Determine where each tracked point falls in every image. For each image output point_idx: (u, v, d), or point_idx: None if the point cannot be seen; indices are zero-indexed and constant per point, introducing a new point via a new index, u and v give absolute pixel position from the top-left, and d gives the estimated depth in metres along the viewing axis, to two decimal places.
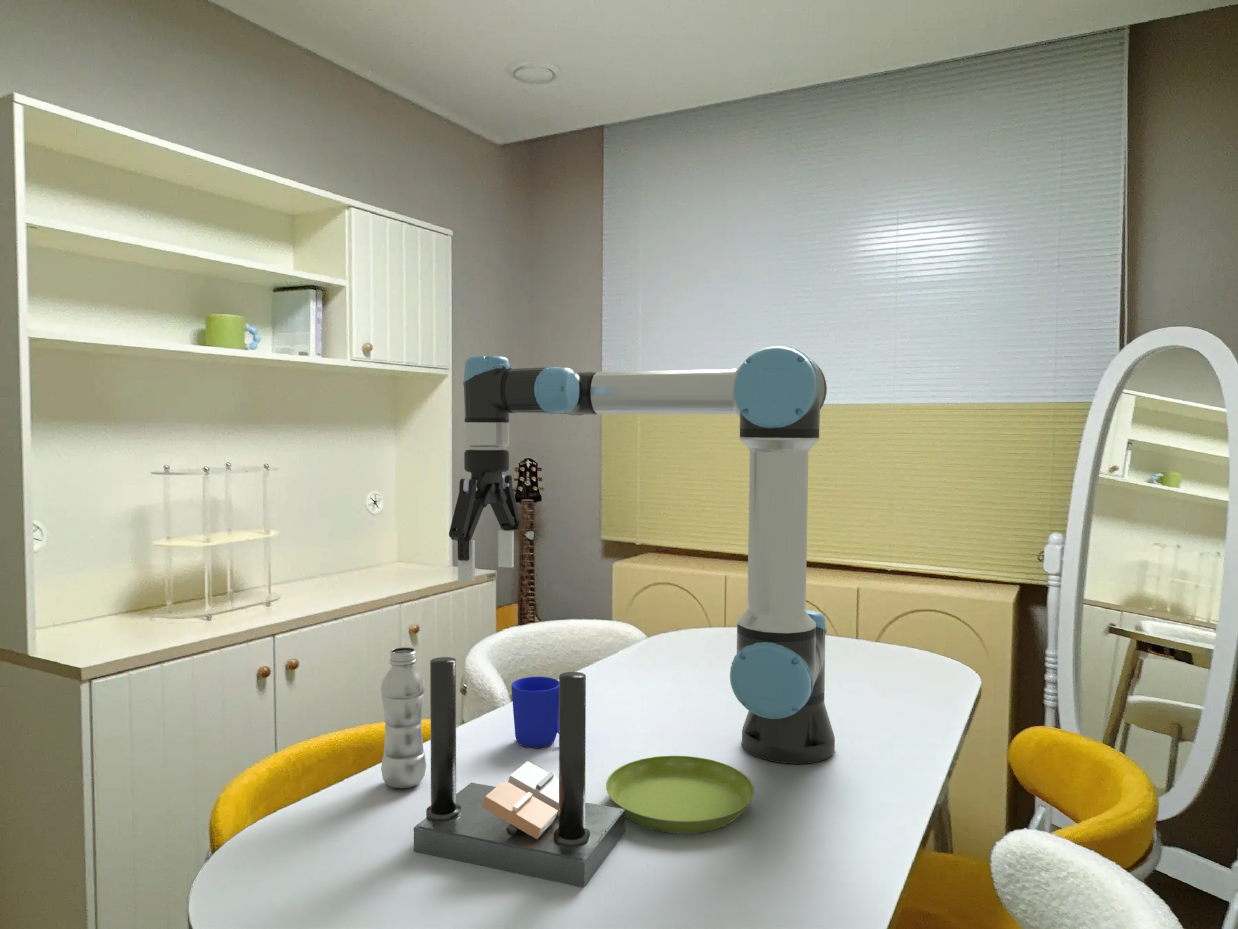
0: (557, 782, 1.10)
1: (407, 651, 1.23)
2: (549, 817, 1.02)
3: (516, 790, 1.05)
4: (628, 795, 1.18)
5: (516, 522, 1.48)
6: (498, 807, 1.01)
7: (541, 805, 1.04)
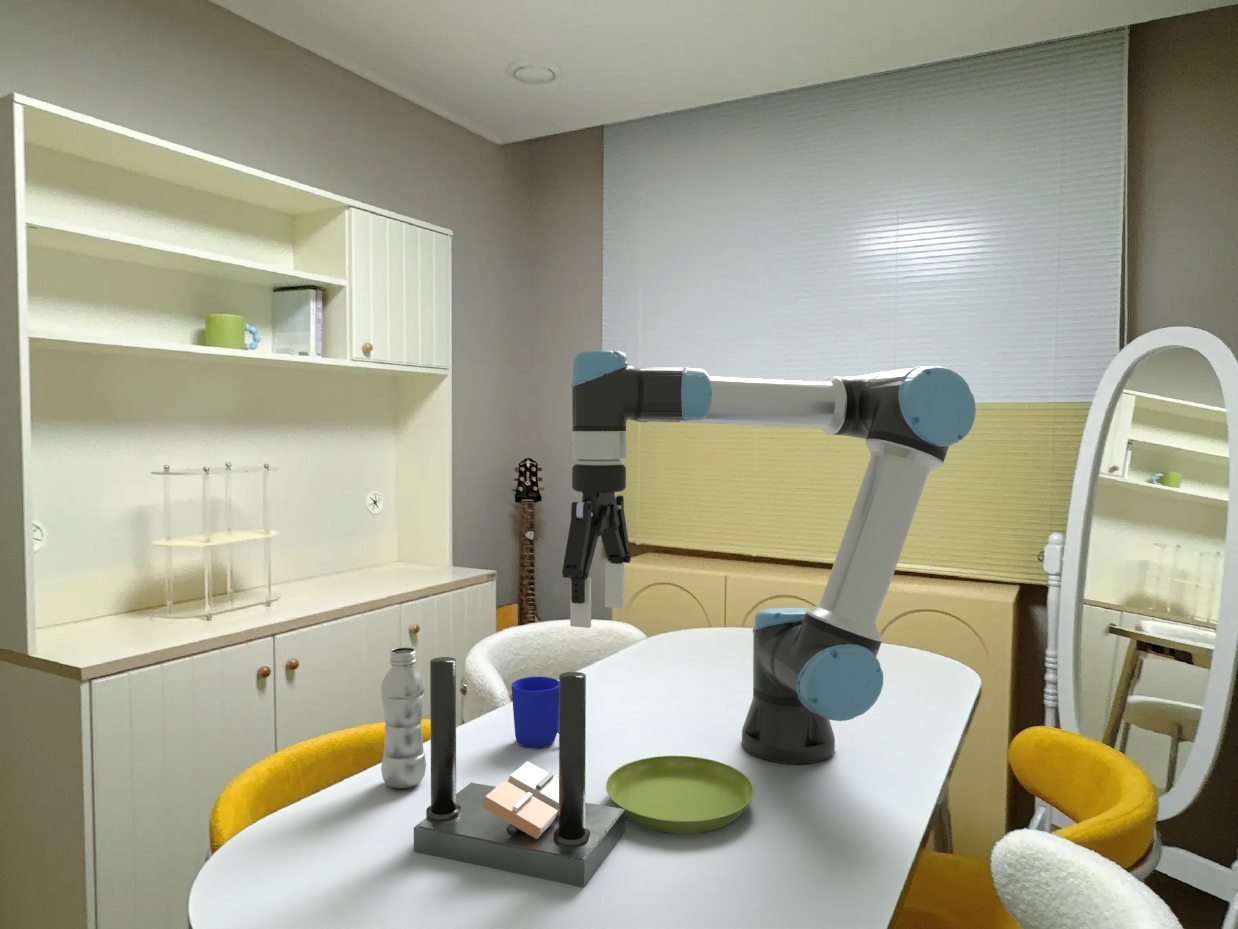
0: (557, 782, 1.10)
1: (407, 651, 1.23)
2: (549, 817, 1.02)
3: (516, 790, 1.05)
4: (628, 795, 1.18)
5: (626, 553, 1.23)
6: (498, 807, 1.01)
7: (541, 805, 1.04)
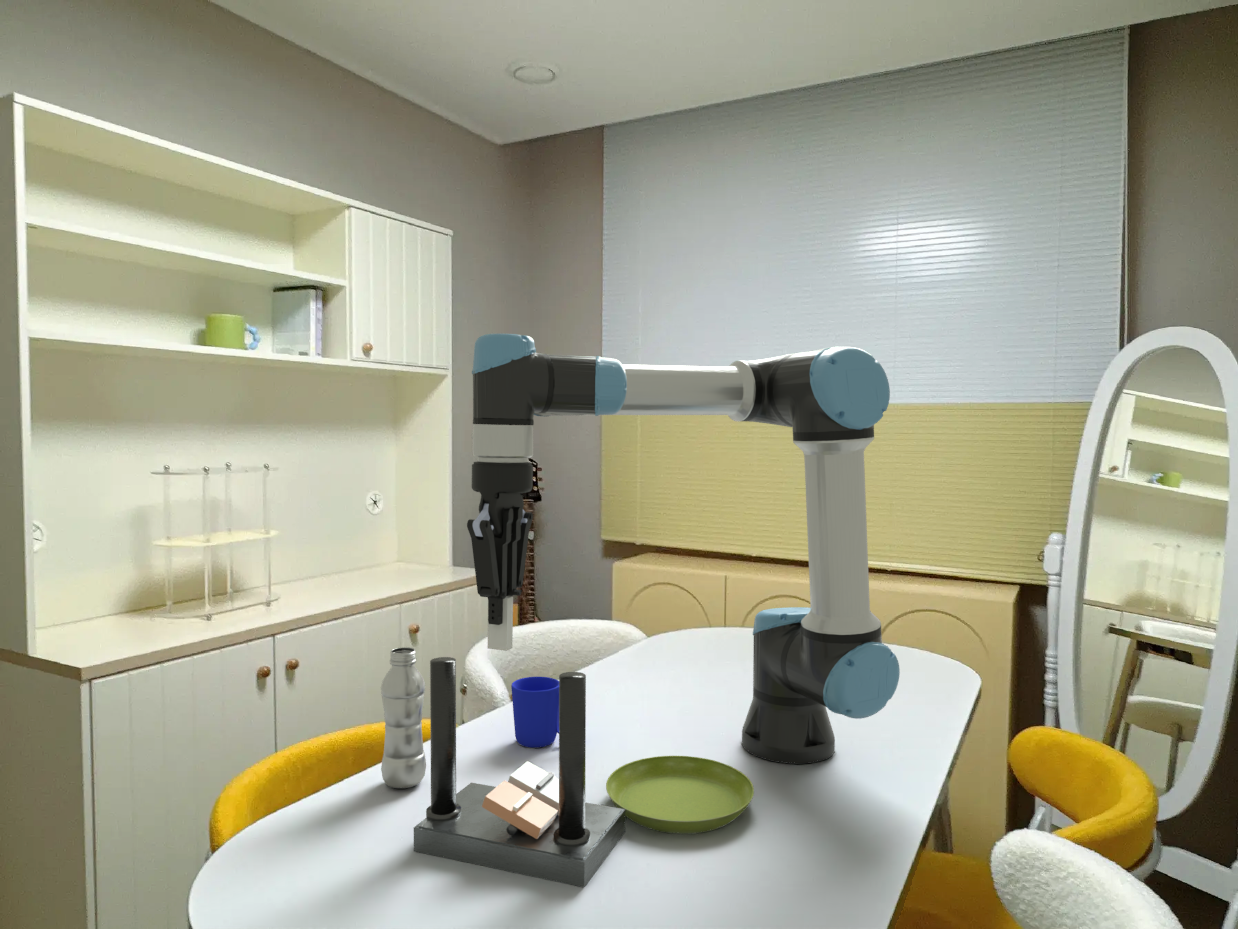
0: (557, 782, 1.10)
1: (407, 651, 1.23)
2: (549, 817, 1.02)
3: (516, 790, 1.05)
4: (628, 795, 1.18)
5: (517, 580, 1.05)
6: (498, 807, 1.01)
7: (541, 805, 1.04)
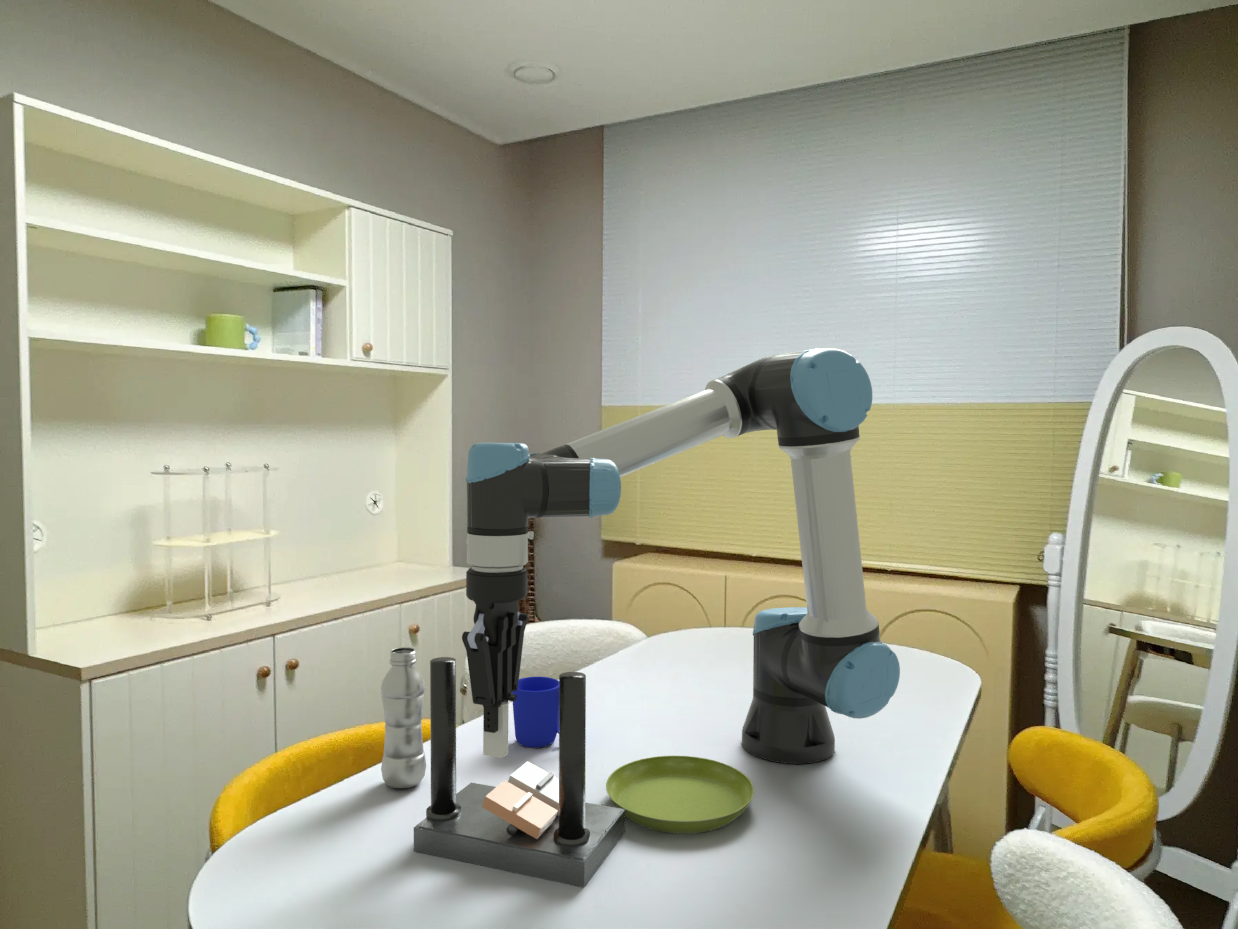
0: (557, 782, 1.10)
1: (407, 651, 1.23)
2: (549, 817, 1.02)
3: (516, 790, 1.05)
4: (628, 795, 1.18)
5: (512, 684, 1.05)
6: (498, 807, 1.01)
7: (541, 805, 1.04)
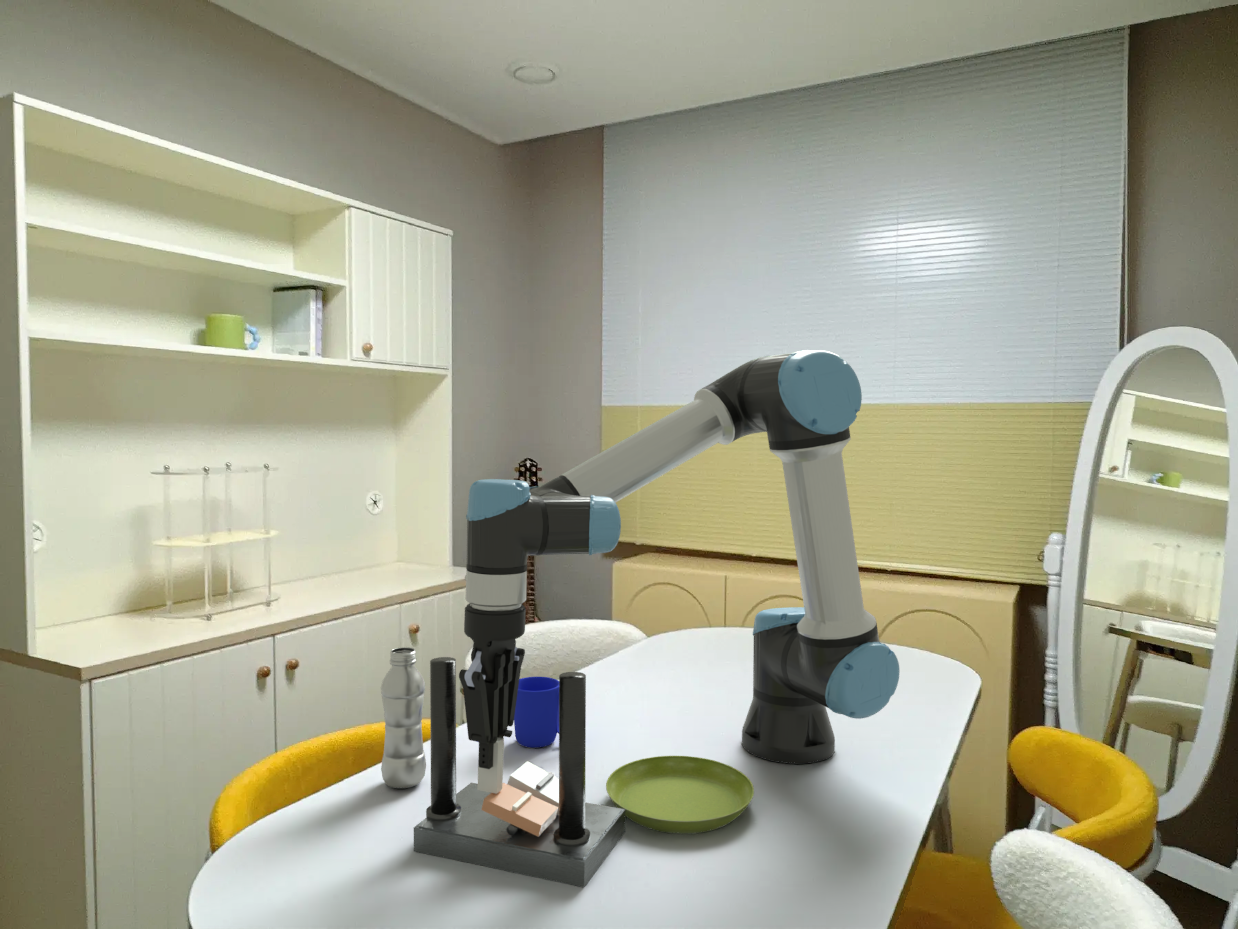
0: (557, 782, 1.10)
1: (407, 651, 1.23)
2: (549, 814, 1.02)
3: (515, 791, 1.05)
4: (628, 795, 1.18)
5: (508, 720, 1.06)
6: (497, 808, 1.01)
7: (541, 803, 1.04)
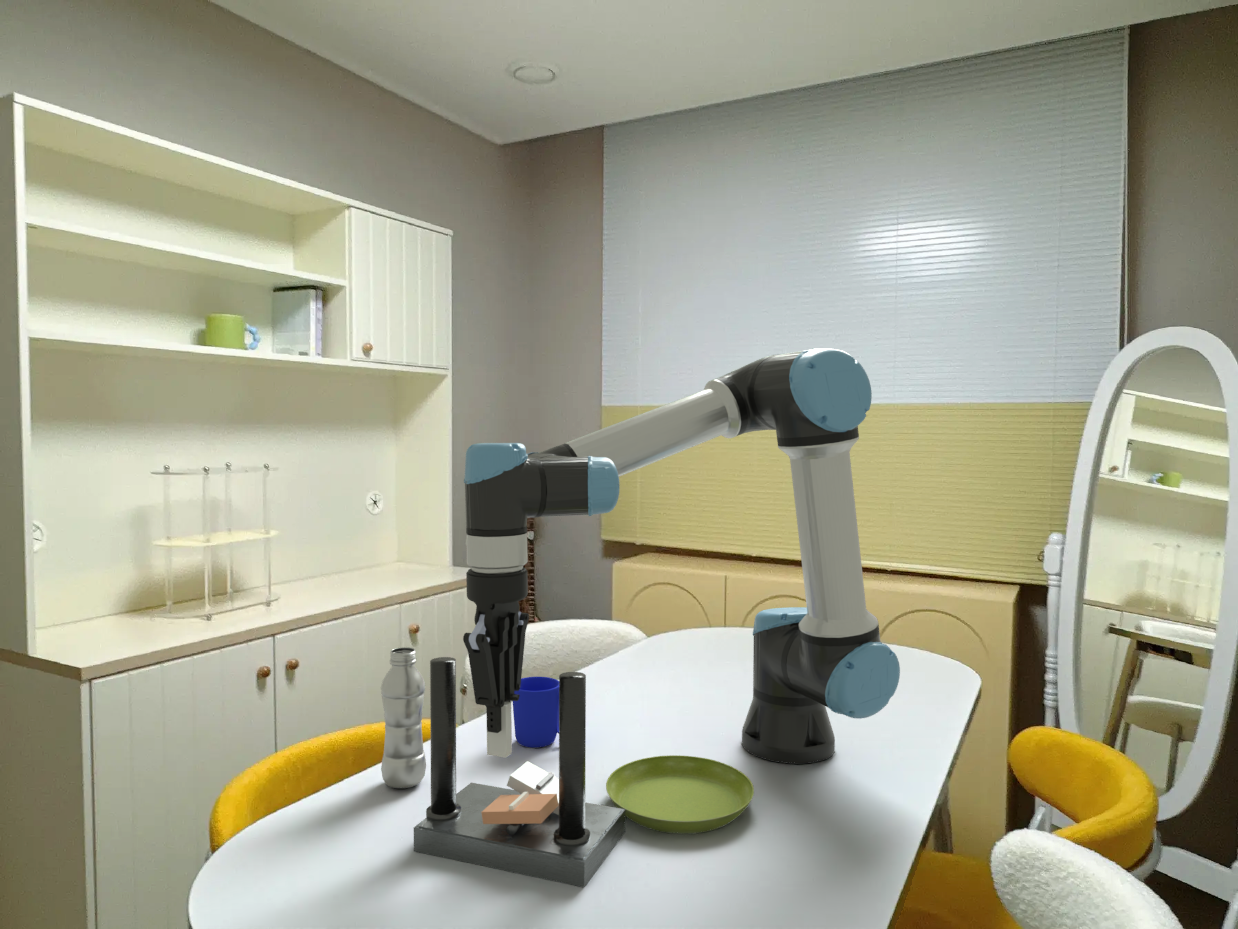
0: (557, 782, 1.10)
1: (407, 651, 1.23)
2: (547, 801, 1.02)
3: (513, 796, 1.05)
4: (628, 795, 1.18)
5: (515, 684, 1.05)
6: (496, 815, 1.01)
7: (539, 796, 1.04)
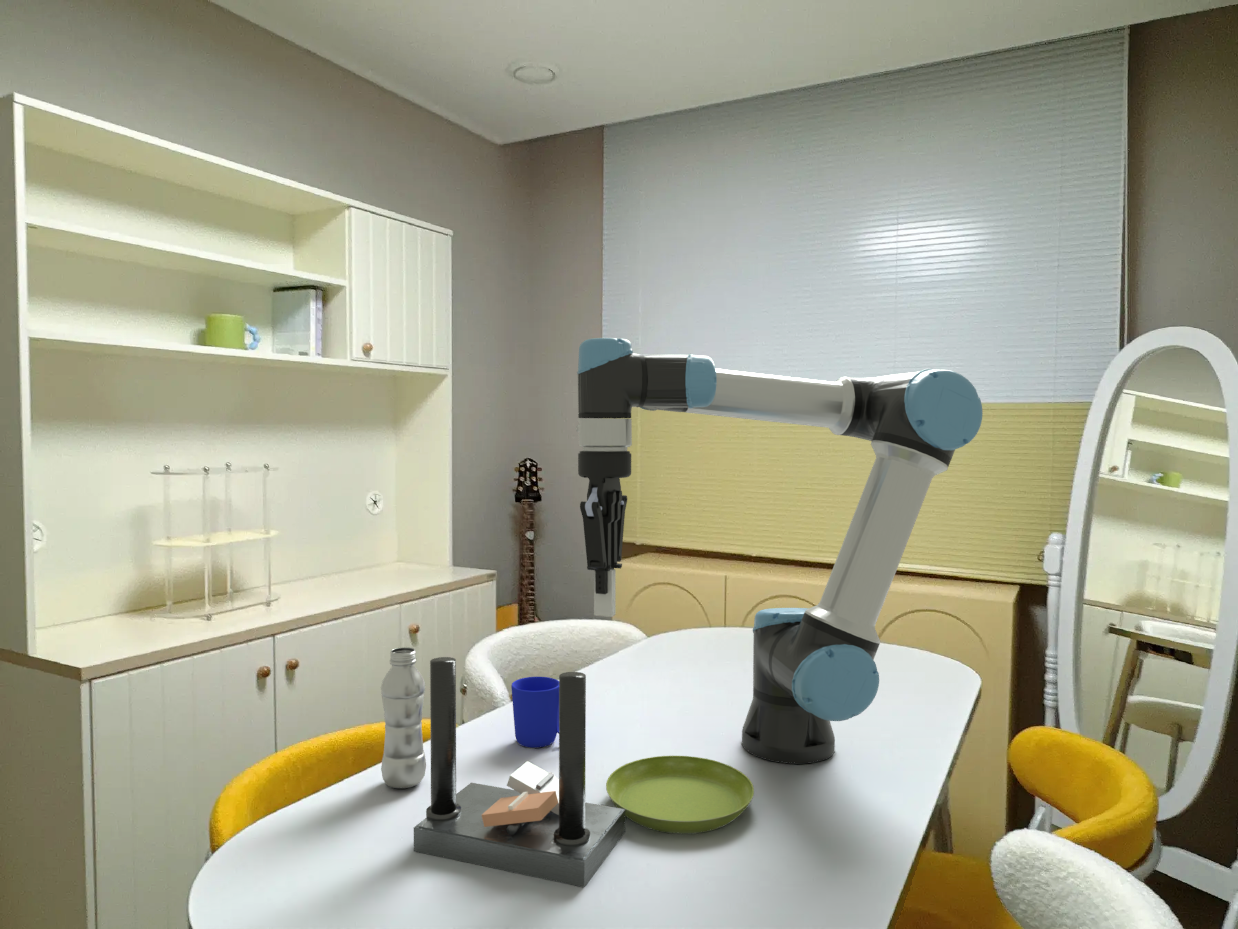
0: (557, 782, 1.10)
1: (407, 651, 1.23)
2: (546, 798, 1.02)
3: (512, 798, 1.05)
4: (628, 795, 1.18)
5: (617, 555, 1.19)
6: (496, 816, 1.01)
7: (538, 795, 1.04)
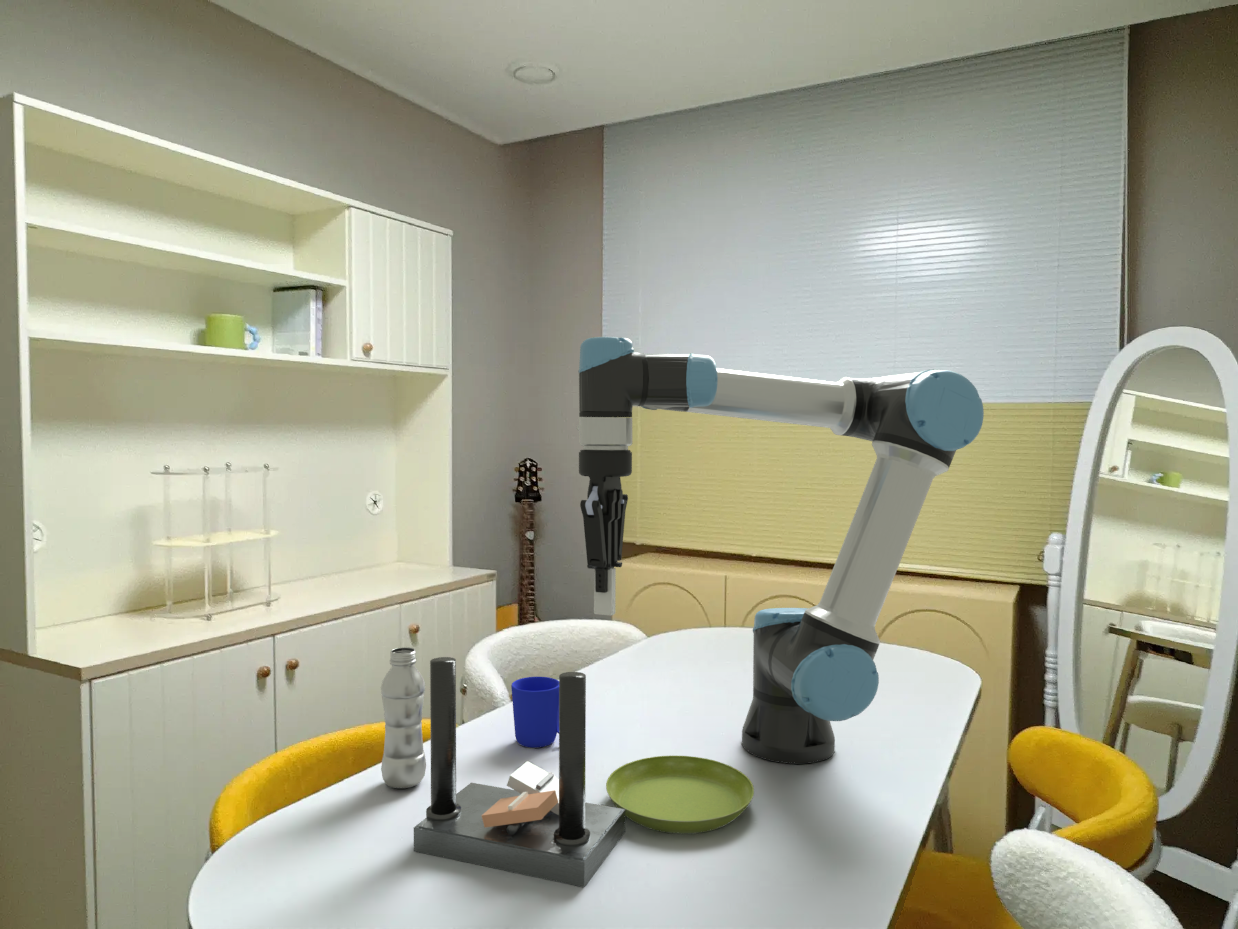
0: (557, 782, 1.10)
1: (407, 651, 1.23)
2: (546, 797, 1.02)
3: (512, 798, 1.05)
4: (628, 795, 1.18)
5: (617, 554, 1.20)
6: (496, 817, 1.01)
7: (538, 795, 1.04)
